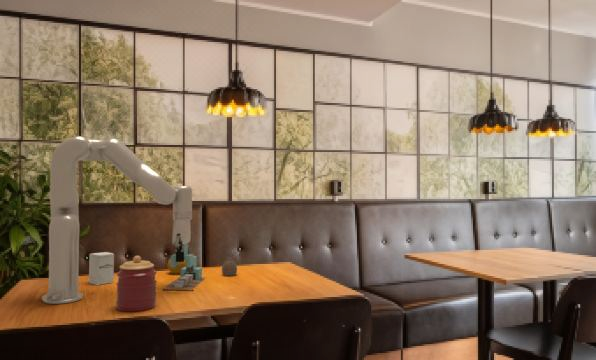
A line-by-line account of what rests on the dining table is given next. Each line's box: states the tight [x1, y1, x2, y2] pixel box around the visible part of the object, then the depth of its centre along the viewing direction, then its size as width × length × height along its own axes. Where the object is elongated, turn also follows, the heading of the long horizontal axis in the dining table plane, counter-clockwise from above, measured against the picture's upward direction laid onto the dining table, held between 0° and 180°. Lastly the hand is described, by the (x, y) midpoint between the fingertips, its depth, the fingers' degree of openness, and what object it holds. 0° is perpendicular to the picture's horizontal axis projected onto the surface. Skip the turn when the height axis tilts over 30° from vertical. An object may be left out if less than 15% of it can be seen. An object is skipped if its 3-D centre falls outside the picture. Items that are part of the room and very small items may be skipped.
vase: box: [221, 257, 238, 277], centre depth 202 cm, size 7×7×9 cm
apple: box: [166, 258, 186, 275], centre depth 205 cm, size 9×9×9 cm
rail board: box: [162, 273, 207, 293], centre depth 185 cm, size 22×12×4 cm, turn 177°
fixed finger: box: [180, 255, 203, 280], centre depth 193 cm, size 8×6×10 cm
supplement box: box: [88, 251, 115, 286], centre depth 188 cm, size 7×7×13 cm
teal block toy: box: [170, 243, 195, 267], centre depth 180 cm, size 8×6×10 cm
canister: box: [115, 255, 158, 312], centre depth 152 cm, size 13×13×18 cm
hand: (182, 259), depth 180 cm, fingers closed on teal block toy, 5 cm apart
